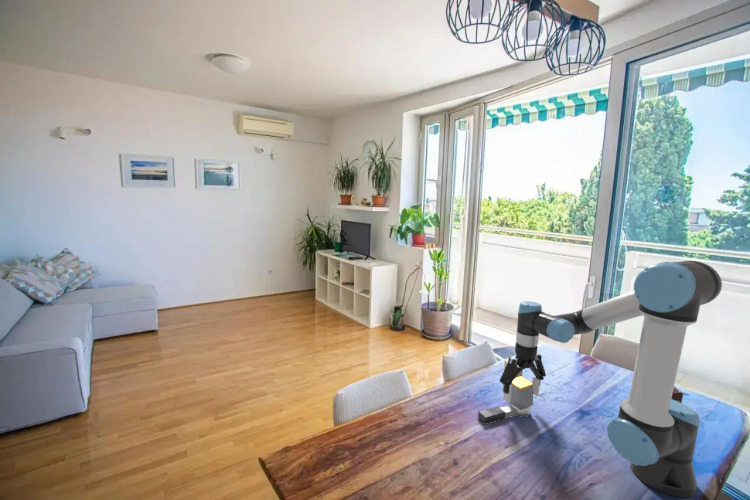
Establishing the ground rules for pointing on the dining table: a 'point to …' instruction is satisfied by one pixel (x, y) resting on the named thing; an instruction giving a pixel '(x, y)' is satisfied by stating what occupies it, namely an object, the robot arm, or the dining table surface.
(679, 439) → the robot arm
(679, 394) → the box
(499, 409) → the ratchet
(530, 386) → the grey orange-topped block
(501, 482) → the dining table surface
